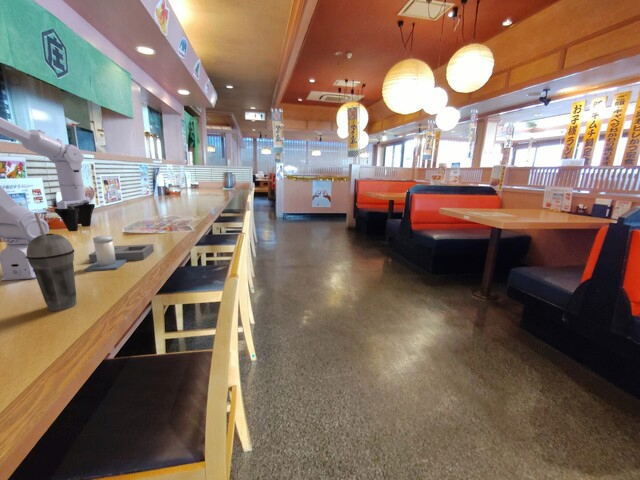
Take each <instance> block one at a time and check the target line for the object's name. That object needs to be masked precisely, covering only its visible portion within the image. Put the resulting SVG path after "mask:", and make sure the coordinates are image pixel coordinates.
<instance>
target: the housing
mask: <svg viewBox="0 0 640 480" xmlns="http://www.w3.org/2000/svg"><path fill="white" fill-rule="evenodd" d="M113 246H114V248H115V250H114V252H115V259H116V260H121V259H128V261H142V260H143V261H144V260H146V259H147V258H148V257H150V255H152V254H153V253H154V252H155V248H154V244H151V243H150V244H132V245H131V244H130V245H128V244H127V245H126V244H125V245H113ZM88 260H89V263H92V264H94V263H95V262H97V257H96V251H94V252H91V253H90V254H89V253H88Z"/></svg>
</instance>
